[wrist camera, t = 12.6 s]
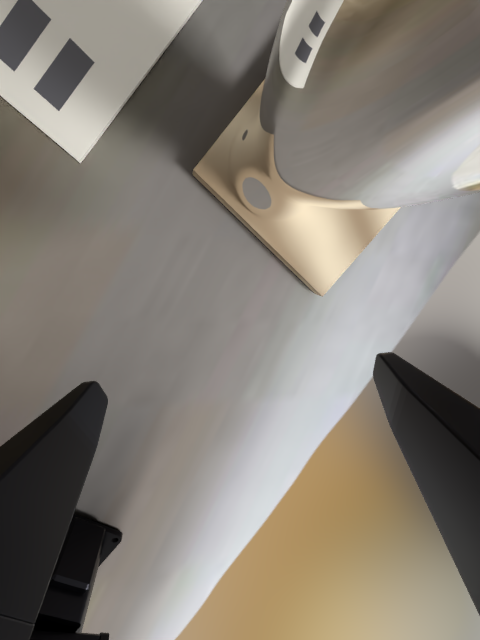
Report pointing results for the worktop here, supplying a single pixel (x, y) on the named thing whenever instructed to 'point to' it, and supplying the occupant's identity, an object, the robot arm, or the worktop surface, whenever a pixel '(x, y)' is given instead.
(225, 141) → the birch board
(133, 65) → the card
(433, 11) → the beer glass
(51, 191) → the worktop surface
